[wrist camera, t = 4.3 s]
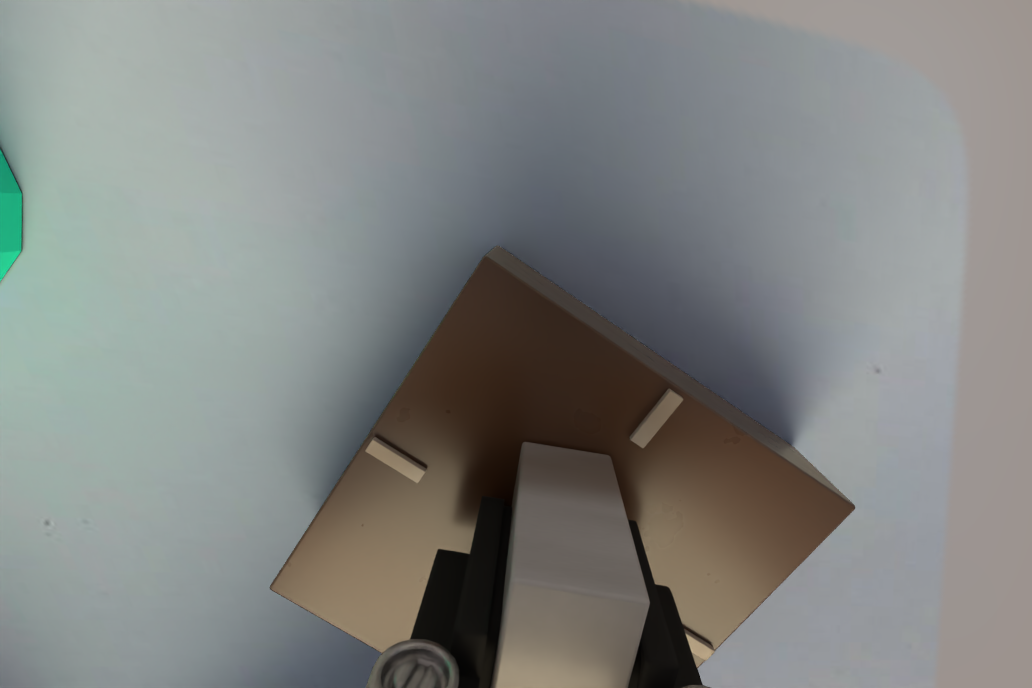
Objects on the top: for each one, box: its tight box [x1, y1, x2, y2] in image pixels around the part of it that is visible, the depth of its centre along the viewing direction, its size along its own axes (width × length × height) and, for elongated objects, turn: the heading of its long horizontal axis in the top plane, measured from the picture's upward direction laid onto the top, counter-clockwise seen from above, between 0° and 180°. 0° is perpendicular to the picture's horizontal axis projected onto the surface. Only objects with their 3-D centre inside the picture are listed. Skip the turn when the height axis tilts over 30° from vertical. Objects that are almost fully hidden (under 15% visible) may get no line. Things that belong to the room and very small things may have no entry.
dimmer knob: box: [490, 442, 650, 688], centre depth 10 cm, size 6×2×5 cm, turn 171°
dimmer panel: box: [270, 246, 855, 668], centre depth 14 cm, size 10×10×3 cm
